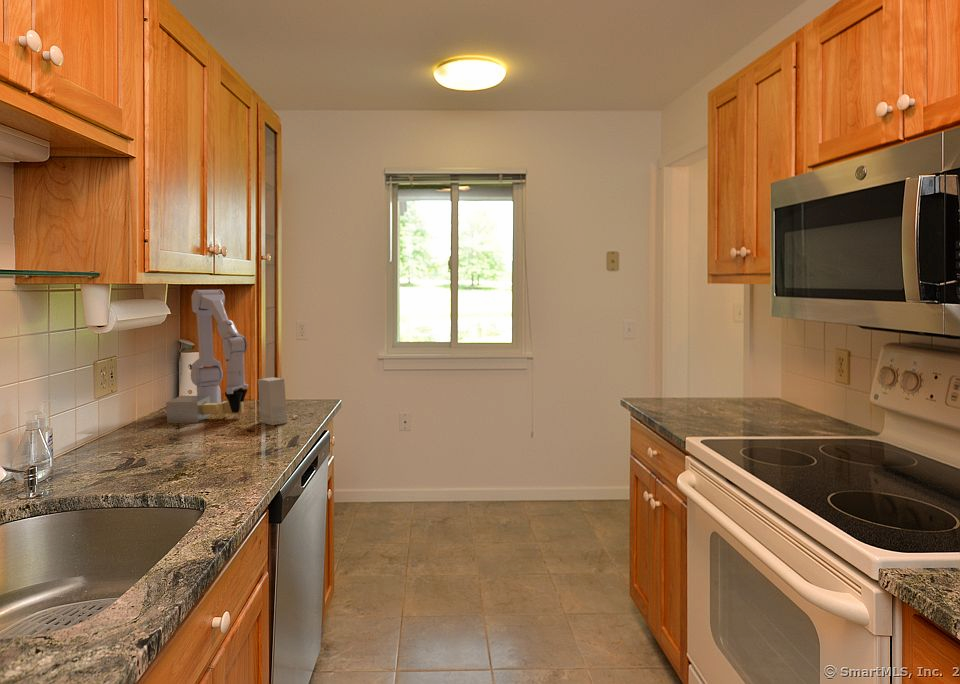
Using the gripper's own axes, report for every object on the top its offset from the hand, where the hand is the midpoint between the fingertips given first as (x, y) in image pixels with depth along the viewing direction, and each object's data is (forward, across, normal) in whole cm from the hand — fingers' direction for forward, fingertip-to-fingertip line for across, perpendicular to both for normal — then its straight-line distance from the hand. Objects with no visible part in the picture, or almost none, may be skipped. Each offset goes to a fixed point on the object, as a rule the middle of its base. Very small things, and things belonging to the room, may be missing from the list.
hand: (237, 411), depth 224 cm
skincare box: (+3, -8, -14) cm, 16 cm away
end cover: (+2, 0, +6) cm, 6 cm away
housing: (+2, 0, +16) cm, 16 cm away
